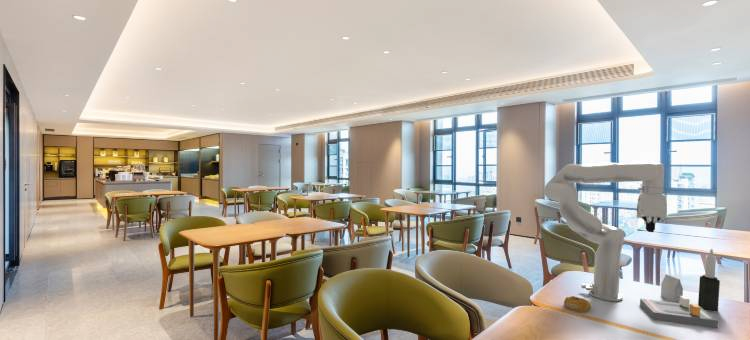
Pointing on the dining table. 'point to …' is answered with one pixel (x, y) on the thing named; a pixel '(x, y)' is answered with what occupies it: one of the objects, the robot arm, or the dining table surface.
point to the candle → (709, 286)
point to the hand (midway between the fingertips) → (650, 231)
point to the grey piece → (671, 288)
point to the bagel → (577, 304)
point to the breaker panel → (677, 313)
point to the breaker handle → (694, 309)
